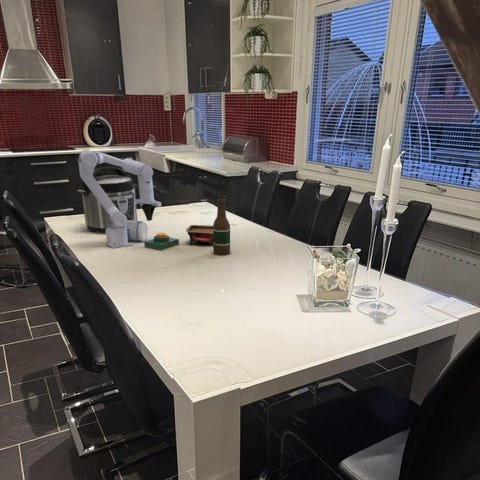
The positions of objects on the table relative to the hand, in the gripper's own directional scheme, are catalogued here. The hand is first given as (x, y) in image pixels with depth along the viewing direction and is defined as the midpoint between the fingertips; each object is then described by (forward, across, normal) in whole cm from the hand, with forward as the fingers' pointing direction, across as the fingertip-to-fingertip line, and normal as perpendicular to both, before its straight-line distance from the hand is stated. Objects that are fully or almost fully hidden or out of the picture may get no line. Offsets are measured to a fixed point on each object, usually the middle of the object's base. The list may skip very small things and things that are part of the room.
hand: (149, 220), depth 222 cm
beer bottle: (+11, -39, -3) cm, 41 cm away
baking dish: (+11, -23, -13) cm, 29 cm away
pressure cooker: (+10, +35, -8) cm, 37 cm away
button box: (+10, -9, +3) cm, 14 cm away
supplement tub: (+6, +3, 0) cm, 6 cm away
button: (+6, -9, +3) cm, 12 cm away
